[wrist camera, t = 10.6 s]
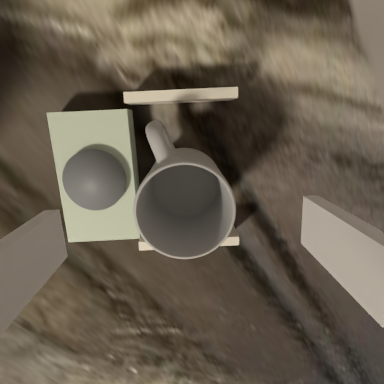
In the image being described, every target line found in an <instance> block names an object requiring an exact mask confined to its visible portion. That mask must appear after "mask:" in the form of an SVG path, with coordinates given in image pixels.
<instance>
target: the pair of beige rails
mask: <svg viewBox="0 0 384 384" xmlns="http://www.w3.org/2000/svg"><path fill="white" fill-rule="evenodd" d="M123 96H124V103H126V104H129V105H149V104H170V103H190V102H211V101H231V100H234V99H236V98H238V87H220V88H199V89H177V90H156V91H135V92H123ZM47 119H48V124H49V130H50V136H51V142H52V148H53V154H54V160H55V166H56V171H57V177H58V183H59V189H60V195H61V201H62V207H63V213H64V218H65V224H66V230H67V236H68V242H84V241H102V240H120V239H138V238H140V240H139V251H140V250H154V249H153V248H152V247H150V246H149V245H148V244H147V243H146V242H145V240H144V239H143V238H142V236H141V235H140V233H139V231H138V229H137V227H136V224H135V220H134V213H133V208H134V200H135V196H136V193H137V190H138V188H139V186H140V185H139V174H138V164H137V154H136V143H135V133H134V123H133V112H132V110H130V109H115V110H94V111H73V112H53V113H47ZM231 245H239V236H238V234H237V231H236V229H235V227H234V225H233V228H232V230H231V232H230V234H229V236H228V237H227V238H226V240H225V241H224V242H223V243H222V244H221V245H220V246H231Z"/></svg>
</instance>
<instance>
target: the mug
mask: <svg viewBox="0 0 384 384" xmlns="http://www.w3.org/2000/svg"><path fill="white" fill-rule="evenodd" d="M145 131H146V136H147V139H148V142H149V144H150V146H151V149H152V151H153V153H154V156H155V158H156V162H155V163H154V165H153V166H152V168H151V170H150V171H149V173H148V174H147V175H146V177H145V178H144V180H143V181H142V183H141V184H140V186H139V188H138V190H137V193H136V196H135V200H134V208H133V213H134V220H135V224H136V227H137V229H138V231H139V233H140V235H141V236H142V238H143V239H144V240H145V242H146V243H147V244H148V245H149V246H150V247H152V248H153V249H154V250H156V251H157V252H159V253H161V254H163V255H166V256H169V257H172V258H177V259H192V258H198V257H201V256H204V255H206V254H208V253H210V252H212V251H214V250H215V249H216V248H218V247H219V246H220V245H221V244H222V243H223V242H224V241H225V240H226V238H227V237H228V236H229V234H230V232H231V230H232V228H233V225H234V222H235V218H236V202H235V197H234V194H233V191H232V189H231V187H230V185H229V183H228V182H227V180H226V179H225V177H224V176H223V175H222V173H221V172H220V170H219V169H218V167H217V166H216V164H215V162H214V161H213V160H212V159H211V158H210V157H209V156H208V155H206V154H205V153H203V152H201V151H199V150H196V149H193V148H177V149H175V147H174V145H173V143H172V141H171V138H170V136H169V134H168V132H167V130H166V128H165V126H164V124H163V123H162V122H161V121H159V120H154V121H151V122H150V123H148V124H147V125H146V128H145Z"/></svg>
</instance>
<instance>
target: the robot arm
mask: <svg viewBox="0 0 384 384" xmlns="http://www.w3.org/2000/svg"><path fill="white" fill-rule="evenodd" d="M301 244H302V245H303V246H304V247H305V248H306V249H307V250H308V251H309V252H310V253H311V254H312V255H313V256H314V257H315V258H316V259H317V260H318V261H319V262H320V263H321V264H322V265H323V266H324V267H325V269H326V270H327V271H328V272H329V273H330V274H331V275H332V276H333V277H334V278H335V279H336V280H337V281H338V282H339V283H340V284H341V285H342V286H343V287H344V288H345V289H346V290H347V291H348V292H349V293H350V294H351V295H352V296H353V298H354V299H355V300H356V301H357V302H358V303H359V304H360V305H361V306H362V307H363V308H364V309H365V310H366V311H367V312H368V313H369V314H370V315H371V316H372V317H373V318H374V319H375V320H376V321H377V322H378V323H379V324H380V325H381V327H384V232H383V231H381V230H379V229H377V228H375V227H373V226H372V225H370V224H368V223H366V222H364V221H363V220H361V219H359V218H357V217H355V216H354V215H352V214H350V213H348V212H346V211H345V210H343V209H341V208H339V207H337V206H336V205H334V204H332V203H330V202H328V201H327V200H325V199H323V198H321V197H319V196H318V195H314V196H303V213H302V231H301ZM66 258H67V251H66V246H65V240H64V234H63V229H62V223H61V217H60V211H59V210H45V211H43V212H41V213H40V214H38V215H37V216H35V217H34V218H32V219H31V220H29V221H28V222H26V223H25V224H23V225H22V226H20V227H19V228H17V229H16V230H14V231H12V232H11V233H9V234H8V235H6V236H5V237H3V238H2V239H0V336H1V335H2V334H3V333H4V331H5V330H6V329H7V328H8V327H9V326H10V324H11V323H12V322H13V321H14V320H15V318H16V317H17V316H18V315H19V314H20V312H21V311H22V310H23V309H24V308H25V307H26V305H27V304H28V303H29V302H30V301H31V299H32V298H33V297H34V296H35V295H36V293H37V292H38V291H39V290H40V289H41V288H42V286H43V285H44V284H45V283H46V282H47V280H48V279H49V278H50V277H51V276H52V274H53V273H54V272H55V271H56V270H57V269H58V267H59V266H60V265H61V264H62V263H63V261H64V260H65V259H66Z"/></svg>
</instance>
